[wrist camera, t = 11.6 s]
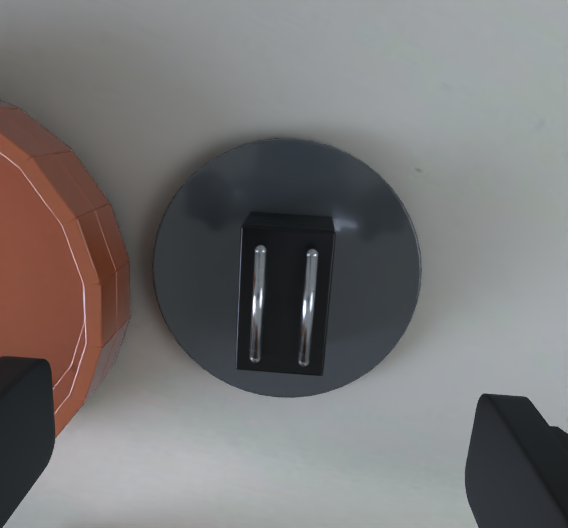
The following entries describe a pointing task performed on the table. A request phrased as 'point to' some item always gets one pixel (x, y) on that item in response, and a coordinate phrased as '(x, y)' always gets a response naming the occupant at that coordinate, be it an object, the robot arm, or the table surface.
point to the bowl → (58, 263)
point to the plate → (298, 201)
